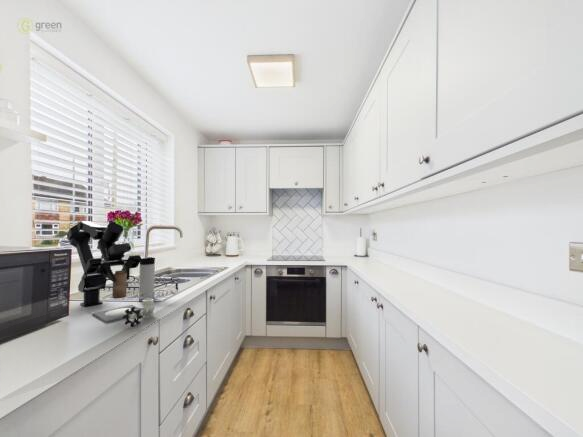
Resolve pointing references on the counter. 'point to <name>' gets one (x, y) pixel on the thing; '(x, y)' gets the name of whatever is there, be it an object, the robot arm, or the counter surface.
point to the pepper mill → (120, 285)
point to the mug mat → (114, 314)
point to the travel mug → (146, 278)
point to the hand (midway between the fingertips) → (121, 280)
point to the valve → (140, 312)
